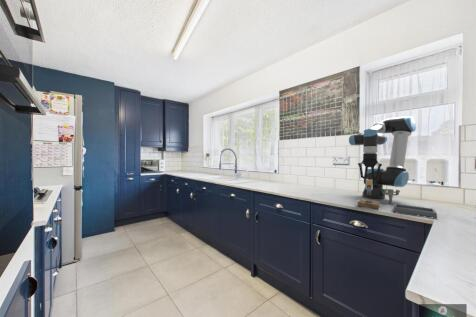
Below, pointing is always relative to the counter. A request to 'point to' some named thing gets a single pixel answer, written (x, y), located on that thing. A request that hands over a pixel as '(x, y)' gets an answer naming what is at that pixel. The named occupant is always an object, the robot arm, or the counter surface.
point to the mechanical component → (390, 193)
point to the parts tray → (415, 210)
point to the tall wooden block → (369, 187)
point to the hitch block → (368, 204)
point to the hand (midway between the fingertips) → (369, 189)
